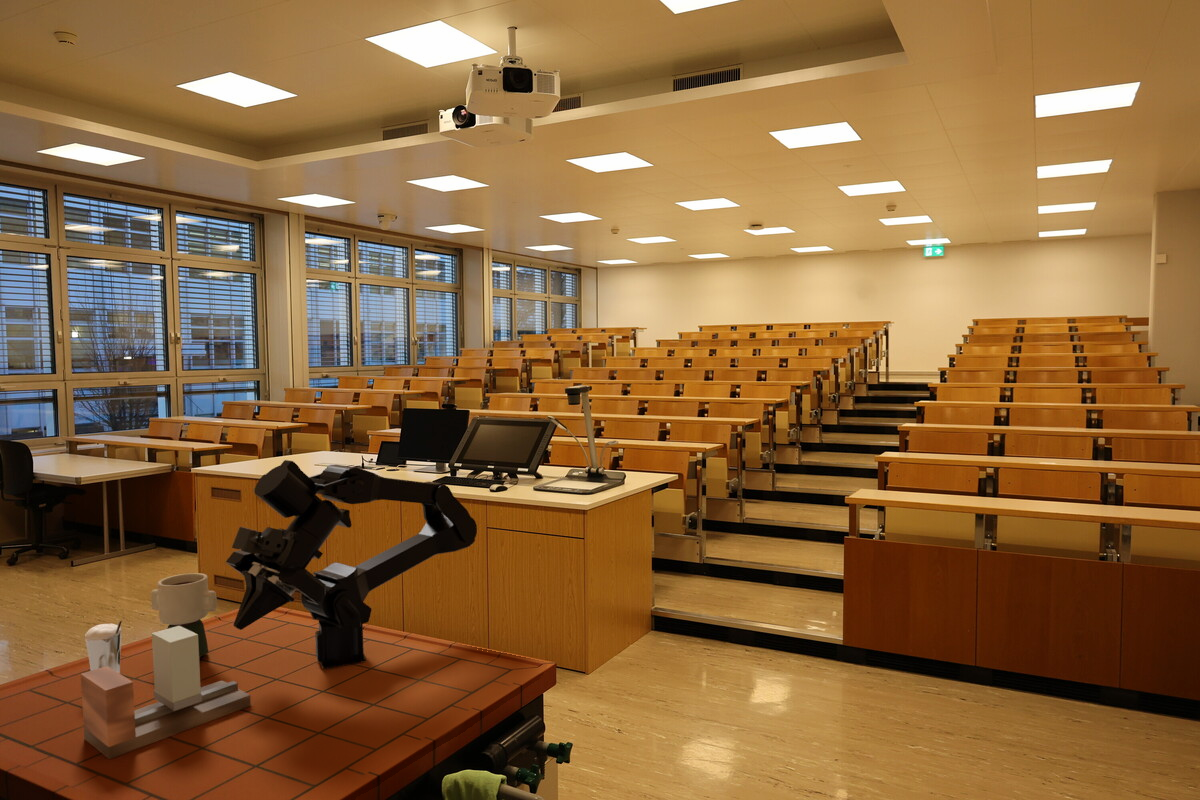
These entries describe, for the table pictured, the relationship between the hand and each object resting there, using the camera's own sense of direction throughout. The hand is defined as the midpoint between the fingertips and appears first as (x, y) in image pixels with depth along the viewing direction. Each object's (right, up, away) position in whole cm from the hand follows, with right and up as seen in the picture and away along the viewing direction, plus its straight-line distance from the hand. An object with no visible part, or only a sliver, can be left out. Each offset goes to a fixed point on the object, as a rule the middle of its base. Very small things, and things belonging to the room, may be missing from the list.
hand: (236, 627), depth 109 cm
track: (-6, -10, -7) cm, 14 cm away
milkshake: (-21, -10, +5) cm, 24 cm away
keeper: (-5, -8, -6) cm, 11 cm away
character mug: (-15, -9, +14) cm, 23 cm away
